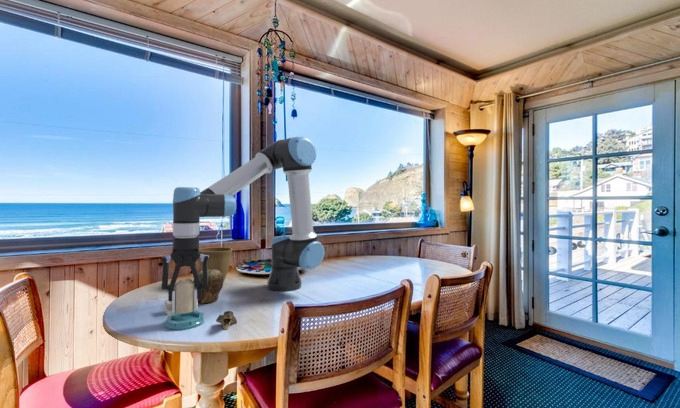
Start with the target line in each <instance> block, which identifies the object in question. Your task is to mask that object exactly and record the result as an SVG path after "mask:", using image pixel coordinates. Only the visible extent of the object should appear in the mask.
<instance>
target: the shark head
mask: <svg viewBox="0 0 680 408" xmlns="http://www.w3.org/2000/svg"><path fill="white" fill-rule="evenodd" d="M215 321H216V322H217V323H219V324H221V325H222V327H223V329H224V330H226V331H227V330H229V329H230V325H234V324H237V323H238V320H237V318H236V317H235V316H234V312H233V311H231V310H226V311H224V312H223V314H219V315H218V317H217V318H216V320H215Z"/></svg>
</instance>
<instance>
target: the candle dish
mask: <svg viewBox="0 0 680 408" xmlns="http://www.w3.org/2000/svg"><path fill="white" fill-rule="evenodd" d="M204 322H205V314H204V312H201V311H198V310H197V311H193V312H191V313H186V314H178V313H175V314H172V315H167V317H166V319H165V322H164V323H165V325H164V326H165V328H166V329H169V330H173V331H182V330H183V331H184V330H190V329H193V328H194V329H195V328H197V327H199V326H201V325H203V324H204Z"/></svg>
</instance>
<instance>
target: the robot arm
mask: <svg viewBox="0 0 680 408" xmlns="http://www.w3.org/2000/svg"><path fill="white" fill-rule="evenodd" d="M316 159H317V150H316V147H315V145H314V143H313V142H312V141H311V140H310V139H309V138H307V137H305V136H294V137H289V138H284V139H278V140H276V141H274V142H272V143H270V144H269V145H268V146H266V147H265V148H263V149H261V150H260V151H258V152H257V153H256V154H255V157H254V158H252V159H251V160H249V161H247V162H246V163H244V164H243V165H241V166H240V167H238V168H236V169H235V170H233V171H232V172H231V173H228V174H227V175H225V176H224V177H222V178H221V179H219V180H217V181H216V182H214V183H213V184H210V186H208V187H207V188H204V189H203V190H202V191H201V190H200V188H199V187H195V186H194V187H190V186H188V187H187V186H177V187H175V188H174V190H173V194H172V195H173V197H172V198H173V199H172V219H173V220H172V236H173V238H172V252H171V253H170V255H164V256H162V257H161V259H160V260H161V263H162V274H161V275H162V277H161V278H162V280H161V289H162V290H165V291H167V292H168V294H167V295H168V299H167V300H169V301H172V313H174V312H175V297H176V288H175V287H176V284H177V280H178V276H179V273H180V270H181V268H184V267H187V268H188V267H189V268H190V270H191V273H192V276H193V280H195V283H196V287H197V288H195V290H194V311H198V306H199V304H198V299H201V296H202V288H204V287H207V285H208V271H207V261H208V258H209V255H203V254H201V253H200V251H199V249H200V237H199V235H200V221H201V220H200V218H217V217H218V218H219V217H221V218H222V217H223V218H225V217H226V218H227V217H232V216H233V215H235V213H236V211H237V200H236V198H235V194H237V193H238V192H240V191H242V190H243V189H245V188H246V187H247V186H249V185H250V184H252V183H253V182H255V181H257V180H258V179H259V178H260V177H262V176H263V175H265V174H271V173H272V172H274V171H275V170H279V169H282V171H283V173H284V174H285V175H286V176H287V185H288V194H289V195H288V198H289V206H290V207H289V208H290V216H291V217H290V219H291V228H292V234H289V235H279V236H278V235H277V236H276V235H275V236H274V237H272V239H271V244H270V245H271V270H270V273H269V276H268V280H267V281H266V282H267V285H266V286H267V287H266V288H267V289H268V290H272V291H278V292H286V291H287V292H289V291H294V290H299V289H300V288H302V279H301V276H300V272H299V268H301V269H302V270H313V269H316V268H317V267H319V266H320V265H321V264H322V263H321V262H323V260H324V256H325V247H324V245H323V244H322V243H321V242H320V241H319V239H318V234H317V233H316V232H315V231H314V223H313V212H312V201H311V187H310V176H309V175H310V173H311V171H313V169H312V165H313V164H314V163H315V160H316ZM199 257H200V258H201V261H202V262H203V283H201V281H200V278H199V274H198V272H199V271H198V269H197V264H196V262H197V261H199V259H198V258H199ZM171 260H172V261H173V262H174V263H175V267H174V271H173V273H172V276H171V280H170V283H169V268H170V262H171Z"/></svg>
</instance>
